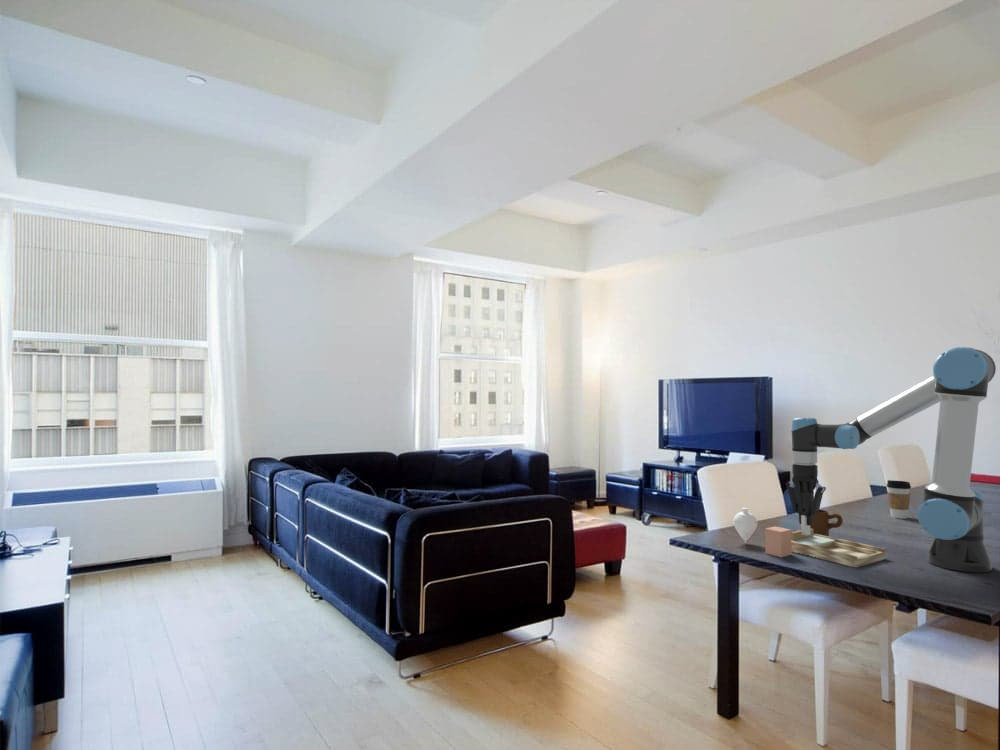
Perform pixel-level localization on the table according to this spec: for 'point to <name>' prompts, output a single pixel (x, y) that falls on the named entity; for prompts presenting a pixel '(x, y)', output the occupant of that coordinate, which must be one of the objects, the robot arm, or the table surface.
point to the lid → (810, 539)
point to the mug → (824, 522)
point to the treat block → (778, 541)
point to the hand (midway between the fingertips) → (805, 534)
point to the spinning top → (745, 523)
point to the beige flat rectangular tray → (842, 552)
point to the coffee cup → (899, 498)
